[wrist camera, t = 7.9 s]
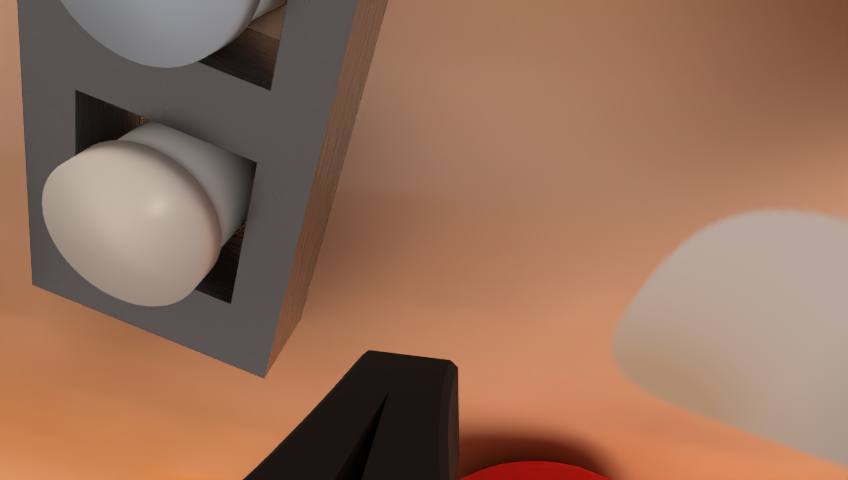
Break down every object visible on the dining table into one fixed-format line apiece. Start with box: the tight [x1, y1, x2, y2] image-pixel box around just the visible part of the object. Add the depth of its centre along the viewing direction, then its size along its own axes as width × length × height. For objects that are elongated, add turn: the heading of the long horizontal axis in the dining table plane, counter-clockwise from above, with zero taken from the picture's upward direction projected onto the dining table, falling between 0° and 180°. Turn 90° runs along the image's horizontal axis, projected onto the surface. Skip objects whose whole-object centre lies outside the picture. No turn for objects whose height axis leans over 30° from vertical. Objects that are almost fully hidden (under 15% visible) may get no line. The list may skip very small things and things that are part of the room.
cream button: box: [42, 119, 257, 306], centre depth 18 cm, size 4×4×4 cm
